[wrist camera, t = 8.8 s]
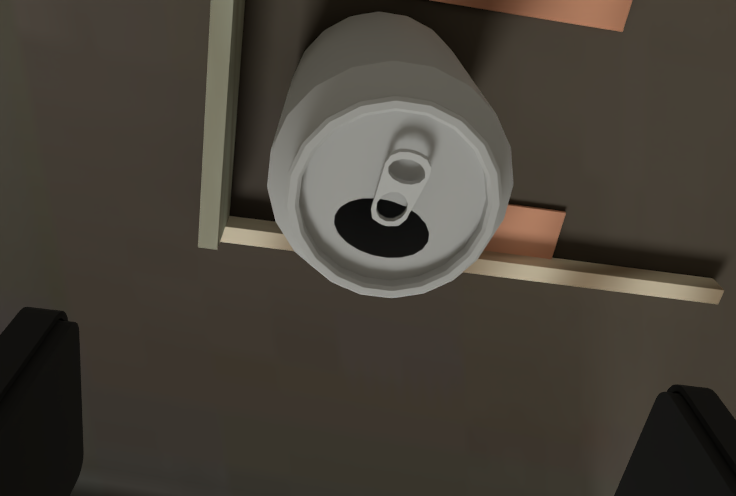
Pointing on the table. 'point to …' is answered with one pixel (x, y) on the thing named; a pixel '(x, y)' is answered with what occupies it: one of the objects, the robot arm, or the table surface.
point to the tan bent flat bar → (521, 223)
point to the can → (387, 159)
